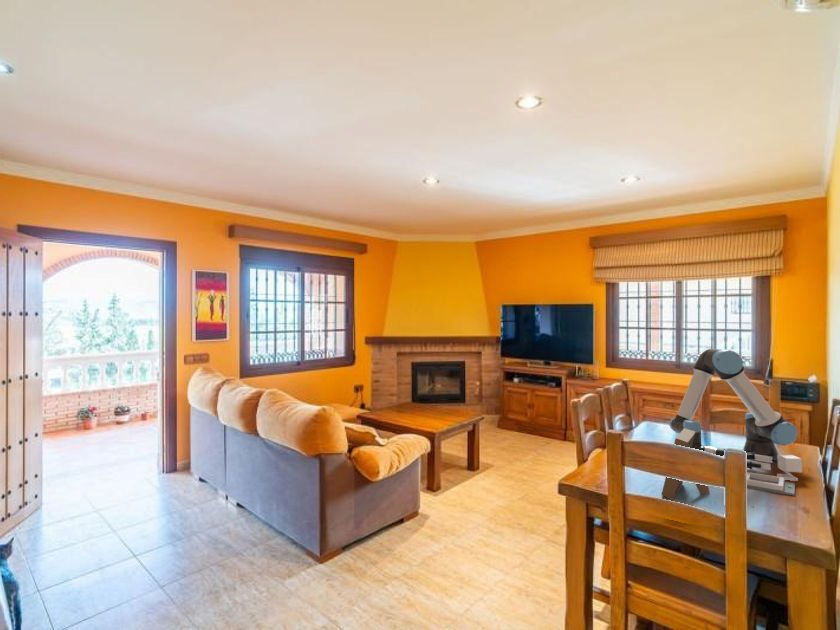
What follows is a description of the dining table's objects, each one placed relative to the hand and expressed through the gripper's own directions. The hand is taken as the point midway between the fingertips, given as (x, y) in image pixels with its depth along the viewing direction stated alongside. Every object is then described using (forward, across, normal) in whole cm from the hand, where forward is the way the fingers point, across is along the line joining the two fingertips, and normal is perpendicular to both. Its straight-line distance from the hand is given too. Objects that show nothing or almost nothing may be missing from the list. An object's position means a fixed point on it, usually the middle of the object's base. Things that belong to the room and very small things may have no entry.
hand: (771, 463), depth 199 cm
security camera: (+6, -1, -6) cm, 9 cm away
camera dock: (-2, +16, -6) cm, 18 cm away
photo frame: (-26, +47, -6) cm, 54 cm away
